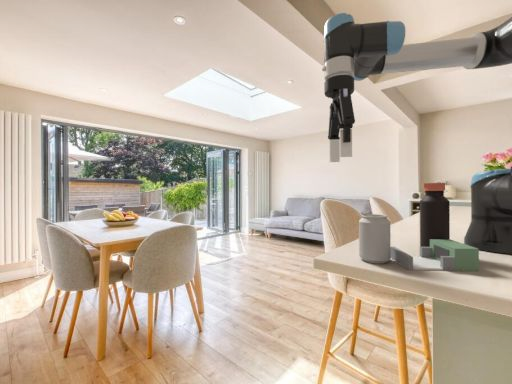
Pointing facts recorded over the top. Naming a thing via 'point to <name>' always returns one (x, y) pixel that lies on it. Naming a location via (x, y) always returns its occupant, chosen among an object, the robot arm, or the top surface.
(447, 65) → the robot arm
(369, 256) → the can
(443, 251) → the green and grey holder
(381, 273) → the top surface
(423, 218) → the bottle
